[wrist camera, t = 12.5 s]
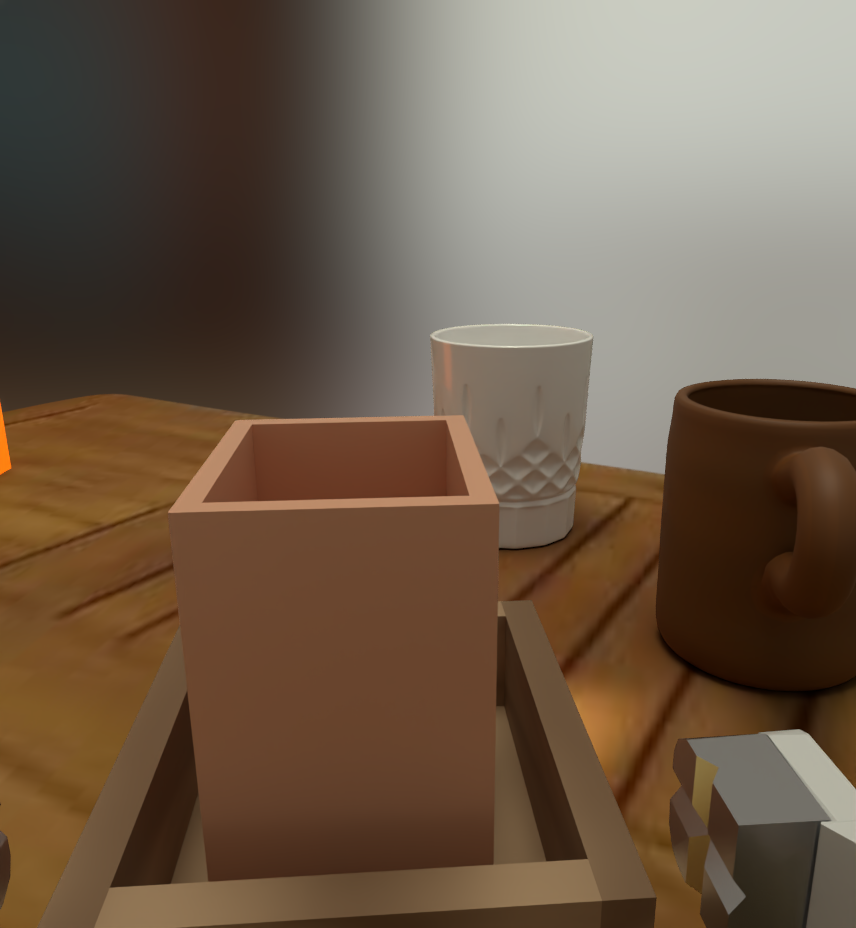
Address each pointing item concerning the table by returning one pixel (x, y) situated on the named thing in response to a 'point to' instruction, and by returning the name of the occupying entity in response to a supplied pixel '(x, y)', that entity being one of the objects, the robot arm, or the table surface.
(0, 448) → the orange juice
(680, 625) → the mug
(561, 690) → the large crate
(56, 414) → the table surface
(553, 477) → the white cup
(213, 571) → the pink square pot
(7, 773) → the table surface
